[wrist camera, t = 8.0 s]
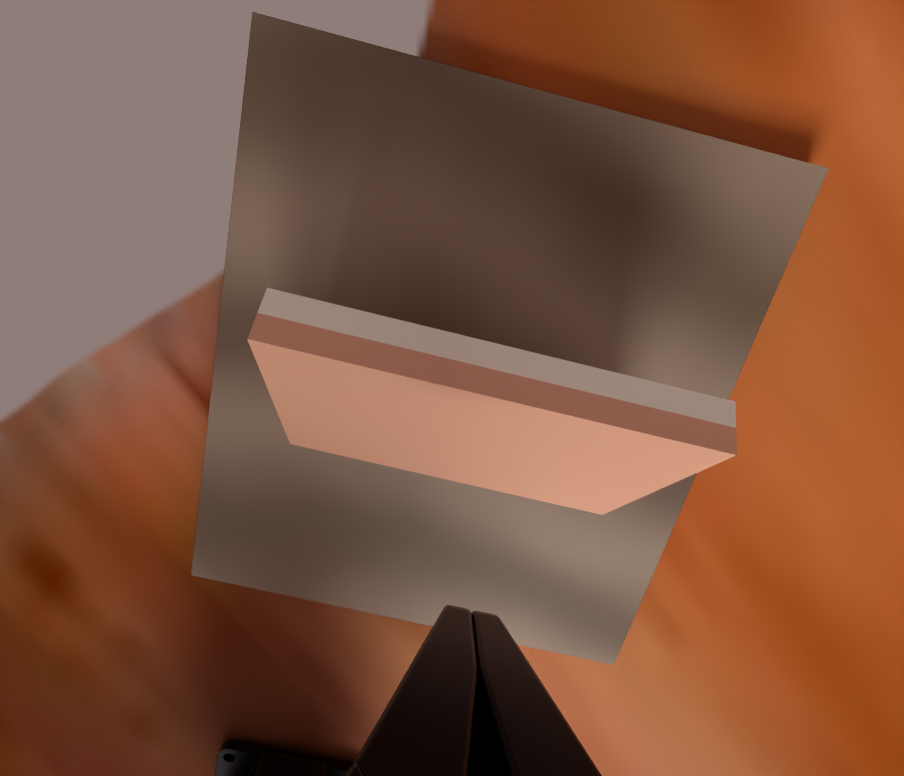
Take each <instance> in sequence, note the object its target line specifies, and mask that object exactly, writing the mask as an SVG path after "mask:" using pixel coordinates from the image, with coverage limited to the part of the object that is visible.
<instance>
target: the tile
mask: <svg viewBox="0 0 904 776" xmlns="http://www.w3.org/2000/svg"><path fill="white" fill-rule="evenodd" d="M247 340H248V342H249V345H250V347H251V350H252V352H253V355H254V357H255V359H256V362H257V364H258V367H259V369H260V372H261V374H262V376H263V379H264V381H265V384H266V386H267V389H268V391H269V394H270V396H271V398H272V401H273V403H274V406H275V408H276V411H277V413H278V416H279V418H280V420H281V423H282V425H283V428H284V430H285V433H286V435H287V437H288V440H289V442H290V444H292V445H297V446H301V447H306V448H310V449H314V450H319V451H323V452H328V453H332V454H336V455H341V456H345V457H350V458H354V459H358V460H363V461H367V462H372V463H376V464H380V465H385V466H389V467H393V468H398V469H402V470H407V471H411V472H415V473H420V474H424V475H429V476H433V477H437V478H442V479H446V480H451V481H455V482H459V483H464V484H468V485H473V486H477V487H481V488H486V489H490V490H495V491H499V492H503V493H508V494H512V495H517V496H521V497H525V498H530V499H534V500H538V501H543V502H547V503H552V504H556V505H560V506H565V507H569V508H574V509H578V510H582V511H587V512H591V513H596V514H600V515H604V514H606V513H608V512H610V511H612V510H615V509H617V508H619V507H621V506H624V505H626V504H628V503H630V502H633V501H635V500H637V499H639V498H642V497H644V496H646V495H648V494H651V493H653V492H655V491H657V490H660V489H662V488H664V487H666V486H669V485H671V484H673V483H675V482H678V481H680V480H682V479H684V478H686V477H689V476H691V475H693V474H695V473H698V472H700V471H702V470H704V469H707V468H709V467H711V466H713V465H716V464H718V463H720V462H722V461H725V460H727V459H729V458H731V457H734V456H736V402H735V401H731V400H727V399H723V398H719V397H715V396H711V395H706V394H702V393H698V392H694V391H690V390H686V389H682V388H678V387H674V386H669V385H665V384H661V383H657V382H653V381H649V380H645V379H641V378H637V377H632V376H628V375H624V374H620V373H616V372H612V371H608V370H604V369H600V368H596V367H591V366H587V365H583V364H579V363H575V362H571V361H567V360H563V359H559V358H554V357H550V356H546V355H542V354H538V353H534V352H530V351H526V350H522V349H517V348H513V347H509V346H505V345H501V344H497V343H493V342H489V341H485V340H480V339H476V338H472V337H468V336H464V335H460V334H456V333H452V332H448V331H443V330H439V329H435V328H431V327H427V326H423V325H419V324H415V323H411V322H406V321H402V320H398V319H394V318H390V317H386V316H382V315H378V314H374V313H369V312H365V311H361V310H357V309H353V308H349V307H345V306H341V305H337V304H332V303H328V302H324V301H320V300H316V299H312V298H308V297H304V296H300V295H295V294H291V293H287V292H283V291H279V290H275V289H271V288H267V289H266V292H265V294H264V297H263V300H262V302H261V305H260V307H259V310H258V312H257V315H256V318H255V320H254V323H253V325H252V328H251V330H250V333H249V335H248V338H247Z"/></svg>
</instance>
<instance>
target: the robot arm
mask: <svg viewBox="0 0 904 776" xmlns="http://www.w3.org/2000/svg"><path fill="white" fill-rule="evenodd" d="M215 776H602V775H601V774H600V772H599V771H598V769H597V768H596V766H595V765H594V763H593V761H592V760H591V758H590V757H589V755H588V754H587V752H586V751H585V749H584V747H583V746H582V744H581V743H580V741H579V740H578V738H577V737H576V735H575V734H574V732H573V730H572V729H571V727H570V726H569V724H568V723H567V721H566V720H565V718H564V717H563V715H562V713H561V712H560V710H559V709H558V707H557V706H556V704H555V703H554V701H553V699H552V698H551V696H550V695H549V693H548V692H547V690H546V689H545V687H544V686H543V684H542V682H541V681H540V679H539V678H538V676H537V675H536V673H535V672H534V670H533V669H532V667H531V665H530V664H529V662H528V661H527V659H526V658H525V656H524V655H523V653H522V651H521V650H520V648H519V647H518V645H517V644H516V642H515V641H514V639H513V638H512V636H511V634H510V633H509V631H508V630H507V628H506V627H505V625H504V624H503V622H502V620H501V619H500V618H499V617H498V616H497V615H495V614H491V613H486V612H481V611H473V612H472V613H471V611H470V610H469V609H467V608H462V607H458V606H453V605H446V606H445V607H444V608H443V610H442V612H441V613H440V615H439V617H438V619H437V620H436V622H435V624H434V625H433V627H432V629H431V631H430V632H429V634H428V636H427V638H426V639H425V641H424V643H423V644H422V646H421V648H420V650H419V651H418V653H417V655H416V656H415V658H414V660H413V662H412V663H411V665H410V667H409V669H408V670H407V672H406V674H405V675H404V677H403V679H402V681H401V682H400V684H399V686H398V688H397V689H396V691H395V693H394V694H393V696H392V698H391V700H390V701H389V703H388V705H387V706H386V708H385V710H384V712H383V713H382V715H381V717H380V719H379V720H378V722H377V724H376V725H375V727H374V729H373V731H372V732H371V734H370V736H369V737H368V739H367V741H366V743H365V744H364V746H363V748H362V750H361V751H360V753H359V755H358V756H357V758H356V760H355V762H354V764H351V763H346V762H341V761H336V760H331V759H326V758H320V757H315V756H310V755H305V754H300V753H295V752H290V751H285V750H280V749H274V748H269V747H264V746H259V745H254V744H249V743H244V742H239V741H232V740H229V741H226V742H224V743H223V744H222V746H221V749H220V751H219V753H218V755H217V762H216V769H215Z"/></svg>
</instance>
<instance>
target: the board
mask: <svg viewBox="0 0 904 776" xmlns="http://www.w3.org/2000/svg"><path fill="white" fill-rule="evenodd" d="M828 169H829V168H826V167H822V166H818V165H814V164H811V163H807V162H803V161H800V160H796V159H792V158H789V157H785V156H781V155H778V154H774V153H770V152H767V151H763V150H759V149H756V148H752V147H748V146H744V145H741V144H737V143H733V142H730V141H726V140H722V139H719V138H715V137H711V136H708V135H704V134H700V133H697V132H693V131H689V130H686V129H682V128H678V127H674V126H671V125H667V124H663V123H660V122H656V121H652V120H649V119H645V118H641V117H638V116H634V115H630V114H627V113H623V112H619V111H616V110H612V109H608V108H605V107H601V106H597V105H593V104H590V103H586V102H582V101H579V100H575V99H571V98H568V97H564V96H560V95H557V94H553V93H549V92H546V91H542V90H538V89H535V88H531V87H527V86H523V85H520V84H516V83H512V82H509V81H505V80H501V79H498V78H494V77H490V76H487V75H483V74H479V73H476V72H472V71H468V70H465V69H461V68H457V67H453V66H450V65H446V64H442V63H439V62H435V61H431V60H428V59H424V58H420V57H417V56H413V55H409V54H406V53H402V52H398V51H394V50H391V49H387V48H383V47H380V46H376V45H372V44H369V43H365V42H361V41H358V40H354V39H350V38H347V37H343V36H339V35H335V34H331V33H328V32H325V31H321V30H317V29H313V28H309V27H306V26H302V25H299V24H295V23H291V22H288V21H284V20H280V19H277V18H273V17H269V16H266V15H262V14H258V13H254V12H253V13H252V21H251V31H250V40H249V50H248V58H247V68H246V77H245V86H244V95H243V105H242V114H241V122H240V132H239V141H238V150H237V159H236V169H235V177H234V187H233V196H232V205H231V215H230V223H229V232H228V242H227V251H226V260H225V269H224V278H223V287H222V297H221V306H220V315H219V324H218V333H217V343H216V352H215V361H214V370H213V379H212V388H211V398H210V407H209V416H208V425H207V434H206V443H205V453H204V462H203V471H202V480H201V489H200V498H199V508H198V517H197V526H196V535H195V544H194V553H193V563H192V572H191V575H192V576H197V577H201V578H206V579H211V580H216V581H220V582H225V583H230V584H234V585H239V586H244V587H249V588H253V589H258V590H263V591H267V592H272V593H277V594H282V595H286V596H291V597H296V598H301V599H305V600H310V601H315V602H319V603H324V604H329V605H334V606H338V607H343V608H348V609H352V610H357V611H362V612H367V613H371V614H376V615H381V616H386V617H390V618H395V619H400V620H404V621H409V622H414V623H419V624H423V625H428V626H433V625H434V624H435V622H436V620H437V619H438V617H439V615H440V613H441V612H442V610H443V608H444V607H445V606H446V605H453V606H458V607H462V608H467V609H469V610H470V611H471V613H472V612H473V611H481V612H486V613H491V614H495V615H497V616H498V617H499V618H500V619H501V620H502V622H503V624H504V625H505V627H506V628H507V630H508V631H509V633H510V634H511V636H512V638H513V639H514V641H515V642H516V644H518V645H522V646H527V647H532V648H537V649H541V650H546V651H551V652H556V653H560V654H565V655H570V656H574V657H579V658H584V659H589V660H593V661H598V662H603V663H607V664H612V665H614V663H615V661H616V658H617V656H618V654H619V652H620V649H621V647H622V645H623V642H624V640H625V638H626V635H627V633H628V631H629V628H630V626H631V624H632V621H633V619H634V617H635V615H636V612H637V610H638V608H639V605H640V603H641V601H642V598H643V596H644V594H645V591H646V589H647V587H648V585H649V582H650V580H651V578H652V575H653V573H654V571H655V568H656V566H657V564H658V561H659V559H660V557H661V554H662V552H663V550H664V548H665V545H666V543H667V541H668V538H669V536H670V534H671V531H672V529H673V527H674V524H675V522H676V520H677V518H678V515H679V513H680V511H681V508H682V506H683V504H684V501H685V499H686V497H687V494H688V492H689V490H690V487H691V485H692V483H693V481H694V478H695V476H696V474H697V473H695V474H693V475H691V476H689V477H686V478H684V479H682V480H680V481H678V482H675V483H673V484H671V485H669V486H666V487H664V488H662V489H660V490H657V491H655V492H653V493H651V494H648V495H646V496H644V497H642V498H639V499H637V500H635V501H633V502H630V503H628V504H626V505H624V506H621V507H619V508H617V509H615V510H612V511H610V512H608V513H606V514H604V515H600V514H596V513H591V512H587V511H582V510H578V509H574V508H569V507H565V506H560V505H556V504H552V503H547V502H543V501H538V500H534V499H530V498H525V497H521V496H517V495H512V494H508V493H503V492H499V491H495V490H490V489H486V488H481V487H477V486H473V485H468V484H464V483H459V482H455V481H451V480H446V479H442V478H437V477H433V476H429V475H424V474H420V473H415V472H411V471H407V470H402V469H398V468H393V467H389V466H385V465H380V464H376V463H372V462H367V461H363V460H358V459H354V458H350V457H345V456H341V455H336V454H332V453H328V452H323V451H319V450H314V449H310V448H306V447H301V446H297V445H292V444H290V442H289V440H288V437H287V435H286V433H285V430H284V428H283V425H282V423H281V420H280V418H279V416H278V413H277V411H276V408H275V406H274V403H273V401H272V398H271V396H270V394H269V391H268V389H267V386H266V384H265V381H264V379H263V376H262V374H261V372H260V369H259V367H258V364H257V362H256V359H255V357H254V355H253V352H252V350H251V347H250V345H249V342H248V340H247V338H248V335H249V333H250V330H251V328H252V325H253V323H254V320H255V318H256V315H257V312H258V310H259V307H260V305H261V302H262V300H263V297H264V294H265V292H266V289H267V288H271V289H275V290H279V291H283V292H287V293H291V294H295V295H300V296H304V297H308V298H312V299H316V300H320V301H324V302H328V303H332V304H337V305H341V306H345V307H349V308H353V309H357V310H361V311H365V312H369V313H374V314H378V315H382V316H386V317H390V318H394V319H398V320H402V321H406V322H411V323H415V324H419V325H423V326H427V327H431V328H435V329H439V330H443V331H448V332H452V333H456V334H460V335H464V336H468V337H472V338H476V339H480V340H485V341H489V342H493V343H497V344H501V345H505V346H509V347H513V348H517V349H522V350H526V351H530V352H534V353H538V354H542V355H546V356H550V357H554V358H559V359H563V360H567V361H571V362H575V363H579V364H583V365H587V366H591V367H596V368H600V369H604V370H608V371H612V372H616V373H620V374H624V375H628V376H632V377H637V378H641V379H645V380H649V381H653V382H657V383H661V384H665V385H669V386H674V387H678V388H682V389H686V390H690V391H694V392H698V393H702V394H706V395H711V396H715V397H719V398H723V399H727V400H729V397H730V395H731V393H732V390H733V388H734V386H735V384H736V381H737V379H738V377H739V374H740V372H741V370H742V367H743V365H744V363H745V360H746V358H747V356H748V353H749V351H750V349H751V347H752V344H753V342H754V340H755V337H756V335H757V333H758V330H759V328H760V326H761V323H762V321H763V319H764V317H765V314H766V312H767V310H768V307H769V305H770V303H771V300H772V298H773V296H774V293H775V291H776V289H777V286H778V284H779V282H780V280H781V277H782V275H783V273H784V270H785V268H786V266H787V263H788V261H789V259H790V256H791V254H792V252H793V250H794V247H795V245H796V243H797V240H798V238H799V236H800V233H801V231H802V229H803V226H804V224H805V222H806V219H807V217H808V215H809V213H810V210H811V208H812V206H813V203H814V201H815V199H816V196H817V194H818V192H819V189H820V187H821V185H822V183H823V180H824V178H825V176H826V173H827V171H828Z"/></svg>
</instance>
